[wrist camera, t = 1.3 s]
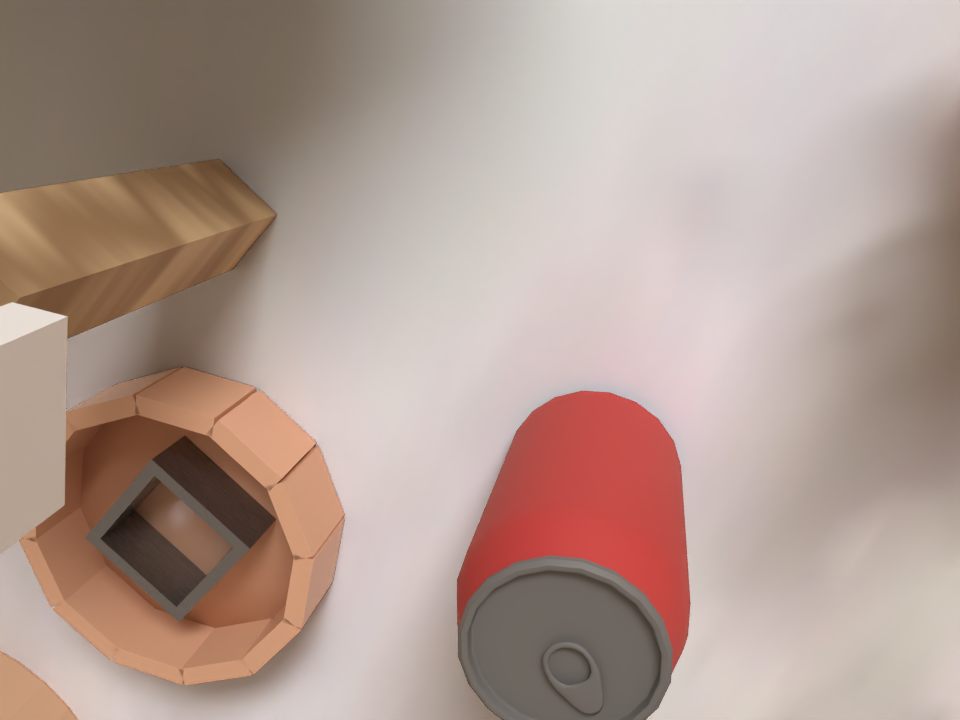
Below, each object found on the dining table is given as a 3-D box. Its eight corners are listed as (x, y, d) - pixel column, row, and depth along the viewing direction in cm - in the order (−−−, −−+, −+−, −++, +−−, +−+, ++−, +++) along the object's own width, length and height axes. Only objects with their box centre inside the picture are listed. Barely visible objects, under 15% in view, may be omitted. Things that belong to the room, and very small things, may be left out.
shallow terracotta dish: (26, 497, 39) (-32, 534, 36) (174, 310, 34) (123, 333, 31) (230, 679, 40) (191, 732, 36) (399, 519, 35) (373, 562, 32)
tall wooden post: (176, 215, 33) (-136, 296, 20) (218, 158, 32) (-82, 205, 19) (232, 268, 33) (-40, 383, 20) (277, 213, 32) (19, 297, 19)
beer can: (554, 562, 34) (506, 788, 23) (481, 423, 33) (393, 590, 22) (708, 507, 33) (736, 726, 21) (636, 358, 31) (626, 506, 20)
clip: (120, 509, 37) (84, 537, 35) (184, 435, 35) (151, 459, 33) (208, 589, 38) (179, 621, 35) (276, 519, 36) (250, 548, 33)
